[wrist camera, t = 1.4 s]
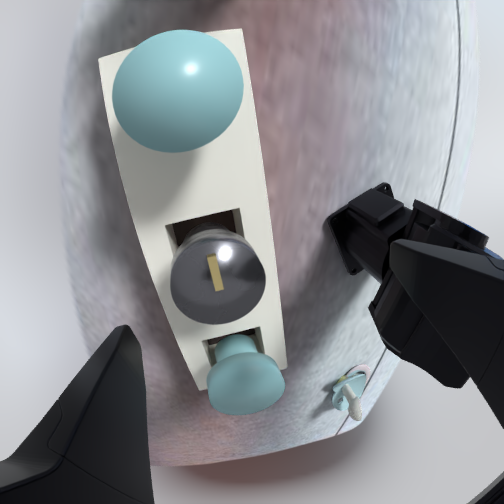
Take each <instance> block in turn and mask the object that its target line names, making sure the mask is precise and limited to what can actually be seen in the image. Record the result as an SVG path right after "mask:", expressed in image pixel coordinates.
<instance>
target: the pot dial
mask: <svg viewBox="0 0 504 504" xmlns="http://www.w3.org/2000/svg"><path fill="white" fill-rule="evenodd" d="M265 286H266V275H265V270H264V268H263V265H262V263H261V262H260V260H259V258H258V256H257V255H256V253H255V251H254V249H253V248H252V246H251V245H250V243H249V242H248V241H247V240H246V239H244V238H243V237H242V236H240V235H238V234H236V233H234V232H231V231H229V230H228V229H227V228H226V227H224V226H223V225H221V224H218V223H213V222H206V223H202V224H199V225H197V226H195V227H194V228H192V229H191V230H190V231H189V232H188V234H187V235H186V237H185V239H184V242H183V243H182V244H181V245H180V246H179V248H178V249H177V250H176V252H175V254H174V256H173V259H172V263H171V275H170V290H171V295H172V299H173V301H174V303H175V305H176V306H177V308H178V309H179V310H180V311H181V312H182V313H183V314H184V315H185V316H187V317H188V318H190V319H192V320H194V321H197V322H199V323H203V324H210V325H219V324H226V323H230V322H233V321H236V320H238V319H240V318H242V317H244V316H245V315H247V314H248V313H249V312H251V311H252V310H253V309H254V308H255V307H256V305H257V304H258V303H259V301H260V300H261V298H262V296H263V293H264V290H265Z"/></svg>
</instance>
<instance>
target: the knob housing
mask: <svg viewBox="0 0 504 504" xmlns="http://www.w3.org/2000/svg"><path fill="white" fill-rule="evenodd" d="M205 34H207V35H210V36H212V37H214V38H216V39H217V40H219V41H220V42H222V43H223V44H224V45H225V46H226V47H227V48H228V49H229V50H230V51H231V52H232V53H233V55H234V56H235V58H236V60H237V61H238V63H239V66H240V68H241V71H242V76H243V83H244V90H243V98H242V102H241V105H240V108H239V111H238V113H237V115H236V117H235V118H234V120H233V122H232V123H231V124H230V126H229V127H228V128H227V129H226V130H225V131H224V132H223V133H222V134H221V135H220V136H219V137H217V138H216V139H215V140H213V141H212V142H210V143H208V144H206V145H204V146H202V147H200V148H197V149H194V150H190V151H186V152H178V153H168V152H160V151H155V150H152V149H149V148H147V147H145V146H143V145H141V144H139V143H137V142H136V141H135V140H133V139H132V138H131V137H130V136H129V135H128V134H127V133H126V132H125V131H124V130H123V128H122V127H121V125H120V124H119V122H118V120H117V118H116V115H115V112H114V108H113V103H112V89H113V83H114V79H115V76H116V73H117V71H118V69H119V67H120V65H121V64H122V62H123V60H124V59H125V58H126V57H127V55H128V54H129V53H130V52H131V51H132V50H133V49H134V48H135V47H134V48H130V49H127V50H123V51H120V52H117V53H114V54H111V55H108V56H105V57H102V58H99V59H98V61H99V69H100V76H101V82H102V89H103V95H104V101H105V107H106V112H107V117H108V122H109V127H110V132H111V137H112V142H113V146H114V151H115V155H116V159H117V163H118V167H119V172H120V175H121V179H122V183H123V187H124V191H125V194H126V198H127V202H128V205H129V209H130V212H131V215H132V219H133V222H134V225H135V229H136V232H137V235H138V238H139V241H140V244H141V248H142V251H143V254H144V257H145V260H146V262H147V265H148V268H149V271H150V274H151V277H152V279H153V282H154V285H155V288H156V290H157V293H158V296H159V298H160V301H161V304H162V306H163V309H164V311H165V314H166V316H167V319H168V321H169V324H170V326H171V329H172V331H173V333H174V336H175V338H176V340H177V343H178V345H179V347H180V350H181V352H182V354H183V357H184V359H185V361H186V363H187V365H188V368H189V370H190V372H191V374H192V376H193V378H194V380H195V383H196V385H197V387H198V389H199V391H200V390H205V389H207V383H206V378H207V375H208V373H209V371H210V369H211V368H212V367H213V366H214V365H215V364H216V363H217V362H216V357H215V347H216V345H217V344H212V345H209V344H208V341H207V339H211V338H215V337H220V336H224V335H228V334H232V333H236V332H240V331H243V330H247V329H251V328H254V329H255V334H252V335H248V337H250V338H251V339H252V340H253V341H254V343H255V346H256V349H257V352H258V353H262V354H265V355H268V356H270V357H271V358H273V359H274V360H275V362H276V363H277V365H278V367H279V370H283V369H286V368H287V358H286V348H285V339H284V329H283V320H282V311H281V302H280V293H279V285H278V276H277V268H276V259H275V251H274V243H273V235H272V227H271V220H270V212H269V204H268V197H267V189H266V182H265V175H264V168H263V161H262V154H261V147H260V140H259V133H258V126H257V120H256V113H255V106H254V100H253V93H252V87H251V81H250V75H249V68H248V62H247V56H246V50H245V44H244V38H243V33H242V29H232V30H222V31H214V32H206V33H205ZM227 210H232V212H233V218H234V223H235V229H236V234H238V235H240V236H242V237H243V238H244V239H246V240H247V241H248V242H249V243H250V245H251V246H252V248H253V249H254V251H255V253H256V255H257V256H258V258H259V260H260V262H261V263H262V265H263V268H264V270H265V275H266V286H265V290H264V293H263V296H262V298H261V300H260V301H259V303H258V304H257V305H256V307H255V308H254V309H253V310H252V311H251V312H249V313H248V314H247V315H245V316H244V317H242V318H240V319H238V320H236V321H233V322H230V323H226V324H219V325H210V324H203V323H199V322H197V321H194V320H192V319H190V318H188V317H187V316H185V315H184V314H183V313H182V312H181V311H180V310H179V309H178V308H177V306H176V305H175V303H174V301H173V299H172V295H171V290H170V275H171V263H172V259H173V256H174V254H175V252H176V250H177V249H178V244H177V241H176V237H175V233H174V230H173V226H172V223H176V222H180V221H184V220H188V219H193V218H197V217H201V216H205V215H210V214H214V213H218V212H223V211H227Z"/></svg>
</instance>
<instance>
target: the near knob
mask: <svg viewBox="0 0 504 504" xmlns="http://www.w3.org/2000/svg"><path fill="white" fill-rule="evenodd" d="M243 90H244V83H243V76H242V71H241V68H240V66H239V63H238V61H237V60H236V58H235V56H234V55H233V53H232V52H231V51H230V50H229V49H228V48H227V47H226V46H225V45H224V44H223V43H222V42H220V41H219V40H217V39H216V38H214V37H212V36H210V35H207V34H205V33H202V32H198V31H193V30H173V31H167V32H163V33H160V34H157V35H155V36H152V37H150V38H148V39H147V40H145V41H143V42H142V43H140V44H139V45H138V46H136V47H135V48H134V49H133V50H132V51H131V52H130V53H129V54H128V55H127V57H126V58H125V59H124V60H123V62H122V64H121V65H120V67H119V69H118V71H117V73H116V76H115V79H114V83H113V89H112V103H113V108H114V112H115V115H116V118H117V120H118V122H119V124H120V125H121V127H122V128H123V130H124V131H125V132H126V133H127V134H128V135H129V136H130V137H131V138H132V139H133V140H135V141H136V142H137V143H139V144H141V145H143V146H145V147H147V148H149V149H152V150H155V151H160V152H168V153H178V152H186V151H190V150H194V149H197V148H200V147H202V146H204V145H206V144H208V143H210V142H212V141H213V140H215V139H216V138H217V137H219V136H220V135H221V134H222V133H223V132H224V131H225V130H226V129H227V128H228V127H229V126H230V124H231V123H232V122H233V120H234V118H235V117H236V115H237V113H238V111H239V108H240V105H241V102H242V98H243Z"/></svg>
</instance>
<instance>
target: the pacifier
mask: <svg viewBox="0 0 504 504" xmlns="http://www.w3.org/2000/svg"><path fill="white" fill-rule="evenodd" d="M359 371H364V374H360V375H356V376H353V375H354V374H355V373H357V372H359ZM369 377H370V368H369V367H368V366H367V365H365V364H361V365H358V366H356V367H354V368H353V369H352V370H350V371H349V372H348V374H346V375H344V376H342V377H341V378H340V379H339V381H338V382H337V384H336V385H335V386H334V387H333V391H335V392H334V394H333V396H332V403H333V406H334V407H335V408H336V409H338V410H347V409H348V411H349V415H350V416H351V418H352V419H354V420H356V421H360V420H361V419H362V408H361V403H360V400H359V398H360V397H361V395H362V392H363V390H364V387H365V385H366V383H367V381H368V379H369ZM340 398H342V401H341V402H338V400H339V399H340Z"/></svg>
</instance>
